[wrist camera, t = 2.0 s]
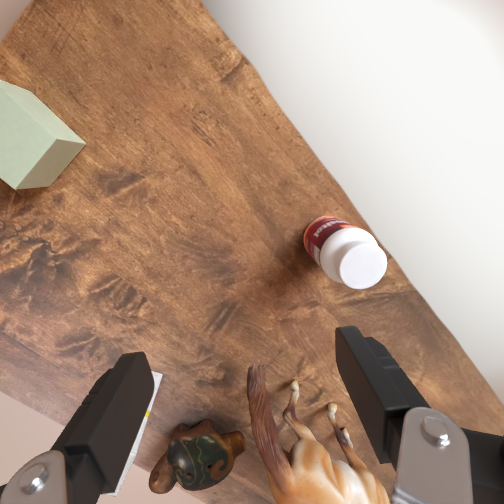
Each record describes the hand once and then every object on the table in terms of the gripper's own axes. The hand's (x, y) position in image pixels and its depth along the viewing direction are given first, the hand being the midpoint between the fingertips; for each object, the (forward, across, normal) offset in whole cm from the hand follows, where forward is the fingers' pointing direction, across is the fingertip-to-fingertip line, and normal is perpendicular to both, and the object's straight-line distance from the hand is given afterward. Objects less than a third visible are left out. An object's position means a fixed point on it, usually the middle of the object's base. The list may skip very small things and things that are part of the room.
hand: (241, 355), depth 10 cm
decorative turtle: (+22, +12, +36) cm, 44 cm away
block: (+23, +21, -13) cm, 34 cm away
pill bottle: (+24, -11, +4) cm, 27 cm away
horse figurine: (+23, -8, +30) cm, 39 cm away
